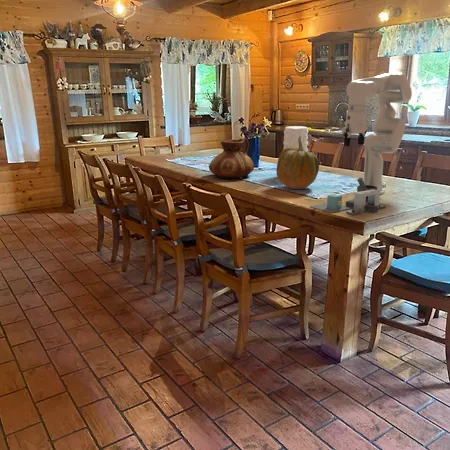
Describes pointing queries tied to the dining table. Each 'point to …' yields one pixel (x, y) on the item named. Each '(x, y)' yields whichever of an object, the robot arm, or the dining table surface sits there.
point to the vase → (295, 136)
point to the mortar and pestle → (364, 187)
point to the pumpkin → (297, 167)
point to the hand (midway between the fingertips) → (353, 145)
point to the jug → (232, 160)
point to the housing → (361, 199)
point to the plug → (334, 201)
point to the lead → (367, 207)
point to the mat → (324, 208)
